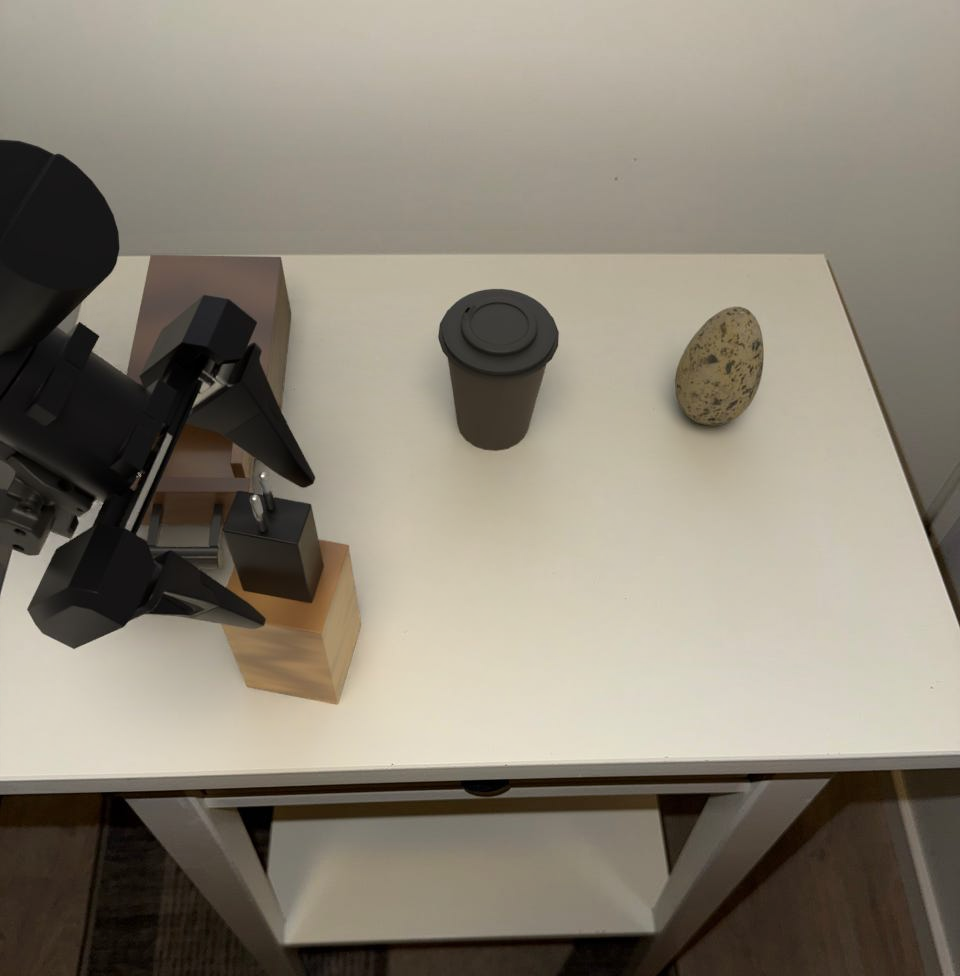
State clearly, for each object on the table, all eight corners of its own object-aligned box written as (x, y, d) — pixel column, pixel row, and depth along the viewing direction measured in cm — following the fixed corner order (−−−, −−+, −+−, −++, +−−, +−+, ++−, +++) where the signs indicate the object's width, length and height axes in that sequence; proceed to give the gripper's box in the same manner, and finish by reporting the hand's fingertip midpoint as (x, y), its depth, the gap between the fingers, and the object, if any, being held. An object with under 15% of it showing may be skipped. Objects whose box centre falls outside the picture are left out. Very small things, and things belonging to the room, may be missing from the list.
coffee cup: (435, 383, 75) (433, 279, 66) (540, 378, 76) (552, 274, 67) (442, 468, 71) (442, 370, 62) (553, 462, 72) (568, 364, 63)
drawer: (251, 584, 65) (241, 553, 62) (123, 584, 65) (106, 552, 61) (272, 397, 73) (263, 360, 69) (157, 396, 72) (143, 358, 69)
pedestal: (246, 687, 63) (215, 613, 54) (273, 607, 65) (248, 525, 57) (338, 705, 62) (321, 633, 54) (361, 623, 65) (349, 544, 57)
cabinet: (278, 438, 72) (266, 385, 67) (146, 437, 72) (124, 384, 67) (291, 313, 78) (281, 256, 73) (169, 312, 78) (150, 254, 73)
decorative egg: (659, 385, 76) (687, 282, 67) (734, 381, 76) (772, 278, 67) (674, 446, 73) (705, 347, 64) (752, 441, 73) (794, 342, 64)
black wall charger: (242, 591, 55) (210, 498, 47) (256, 553, 56) (226, 457, 48) (312, 604, 55) (290, 513, 47) (324, 565, 56) (305, 471, 48)
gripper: (24, 302, 54) (255, 463, 63) (-143, 590, 45) (152, 729, 54) (119, 199, 46) (366, 400, 55) (-61, 522, 37) (267, 697, 46)
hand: (286, 551), depth 53 cm, fingers open, 9 cm apart
